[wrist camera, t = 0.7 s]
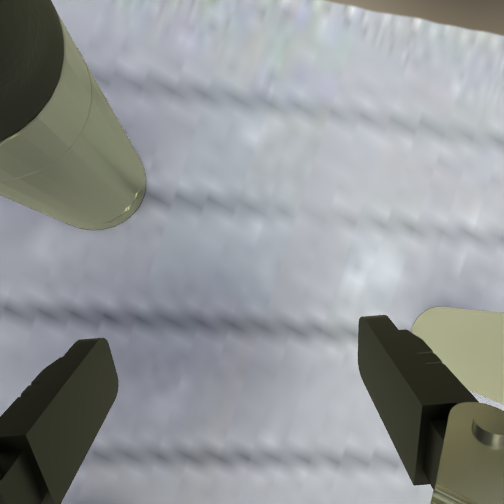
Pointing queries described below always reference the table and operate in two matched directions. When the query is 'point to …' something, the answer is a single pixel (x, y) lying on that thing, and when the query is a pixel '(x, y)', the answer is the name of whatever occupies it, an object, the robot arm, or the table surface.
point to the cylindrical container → (467, 346)
